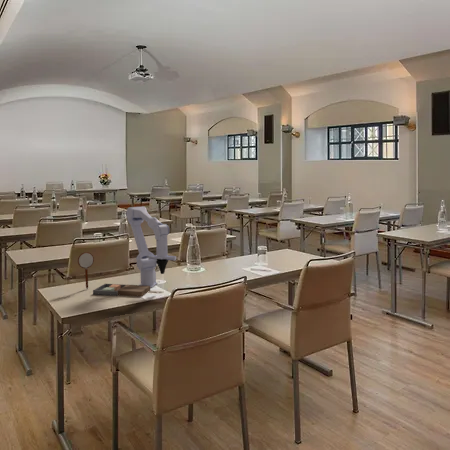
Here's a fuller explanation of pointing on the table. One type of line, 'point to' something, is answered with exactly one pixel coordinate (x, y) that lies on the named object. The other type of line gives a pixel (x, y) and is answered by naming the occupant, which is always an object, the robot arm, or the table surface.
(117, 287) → the terracotta tile
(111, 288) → the sage tile
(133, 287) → the brown tray
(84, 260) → the magnifying glass
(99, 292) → the box
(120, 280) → the table surface
